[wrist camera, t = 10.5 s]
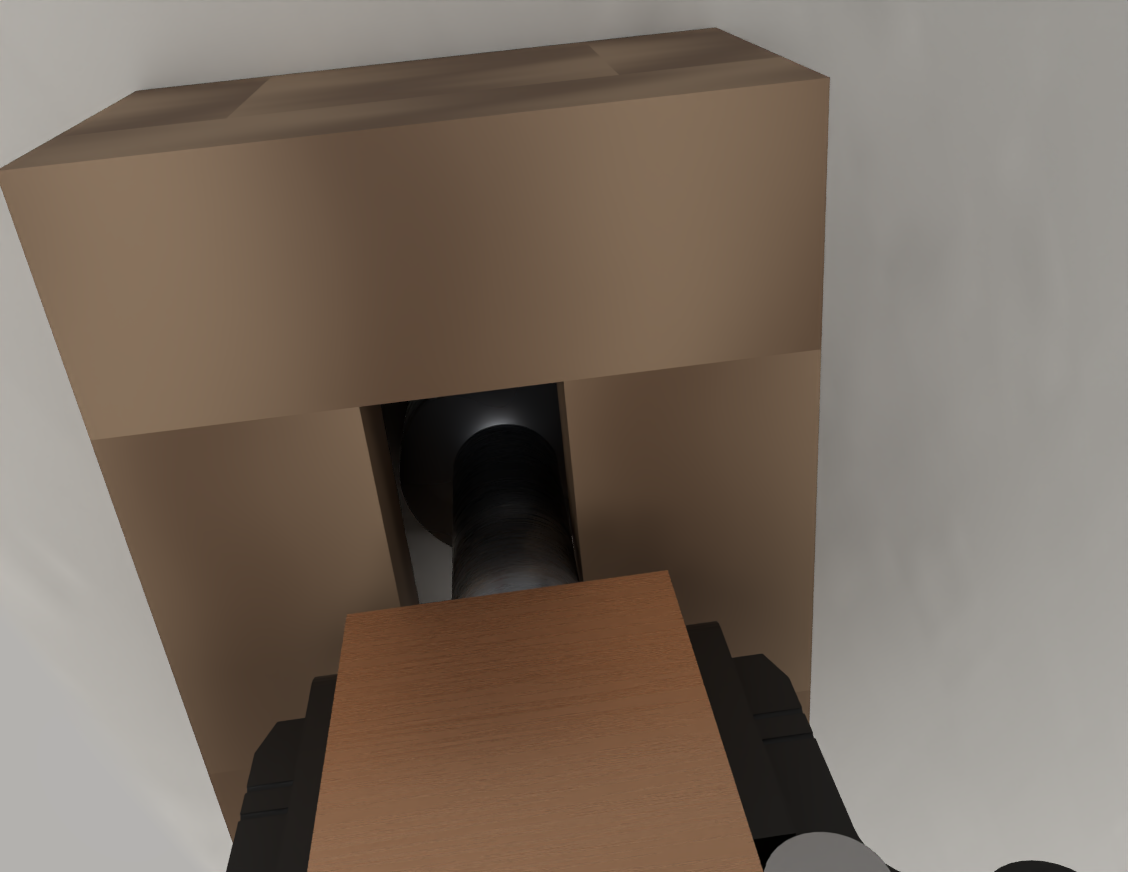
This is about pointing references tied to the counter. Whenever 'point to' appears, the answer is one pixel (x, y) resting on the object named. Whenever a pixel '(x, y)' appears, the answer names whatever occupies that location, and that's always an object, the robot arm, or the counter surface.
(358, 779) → the brown square-topped part
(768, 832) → the robot arm
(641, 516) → the keyhole block
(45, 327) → the counter surface
